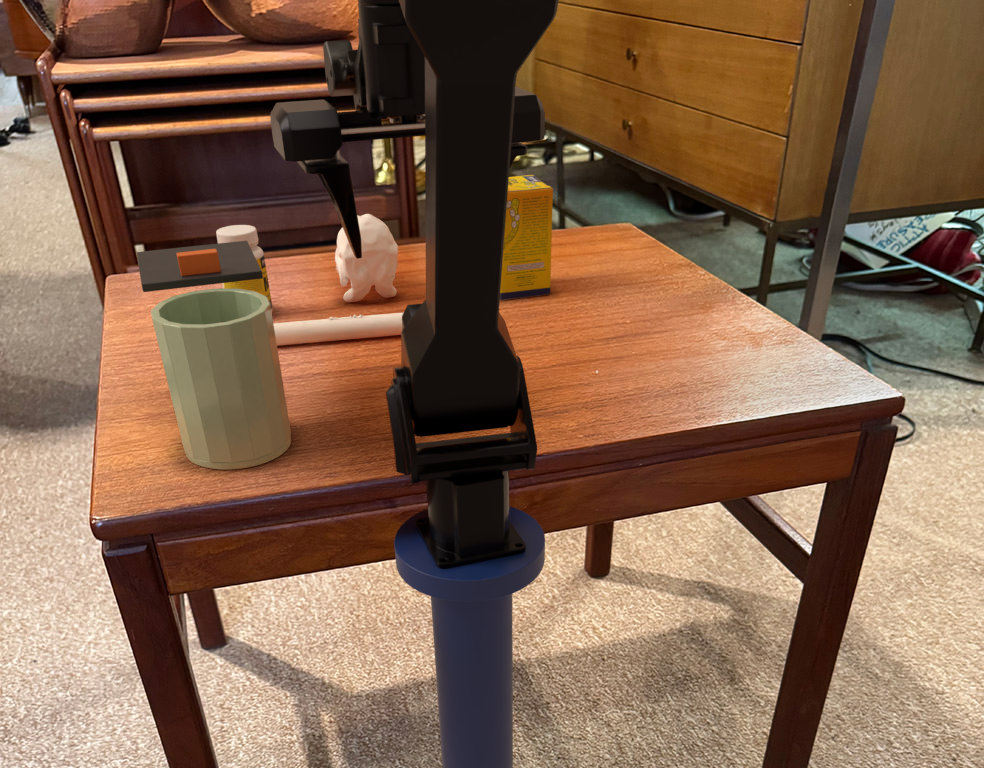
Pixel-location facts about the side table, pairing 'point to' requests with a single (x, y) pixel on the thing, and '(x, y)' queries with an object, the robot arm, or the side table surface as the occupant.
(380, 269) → the penguin figurine
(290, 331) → the white rod
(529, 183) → the supplement box
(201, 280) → the slider
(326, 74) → the robot arm
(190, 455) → the tumbler
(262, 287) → the supplement bottle
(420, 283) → the side table surface
